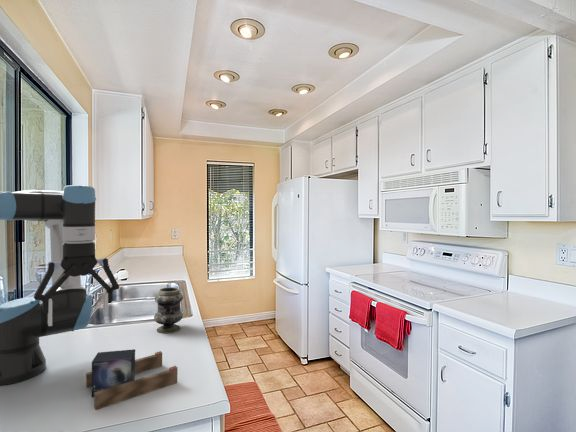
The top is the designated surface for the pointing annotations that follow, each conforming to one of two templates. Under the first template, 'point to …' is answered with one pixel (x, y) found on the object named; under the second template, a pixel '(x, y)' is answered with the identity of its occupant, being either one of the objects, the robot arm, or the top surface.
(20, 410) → the top surface
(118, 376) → the small box
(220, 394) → the top surface
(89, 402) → the top surface
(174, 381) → the chute
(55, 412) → the top surface
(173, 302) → the apothecary jar
